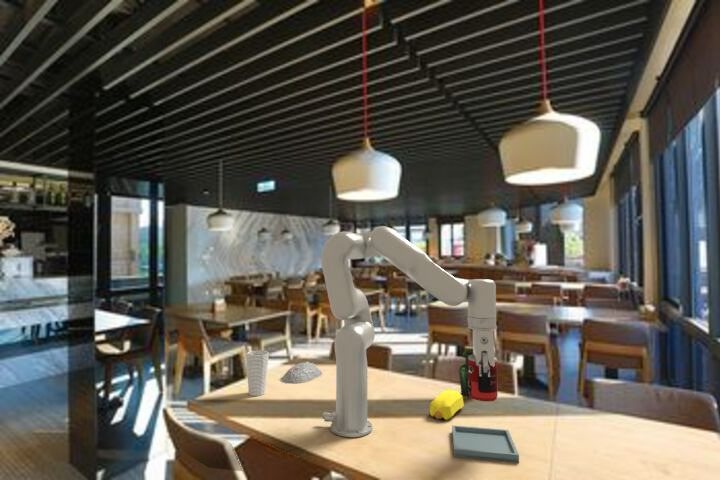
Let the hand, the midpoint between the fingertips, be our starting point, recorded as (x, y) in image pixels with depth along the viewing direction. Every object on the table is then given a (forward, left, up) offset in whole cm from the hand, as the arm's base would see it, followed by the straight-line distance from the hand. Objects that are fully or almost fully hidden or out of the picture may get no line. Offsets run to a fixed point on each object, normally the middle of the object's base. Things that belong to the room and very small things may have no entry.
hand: (482, 386), depth 115 cm
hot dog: (-9, +24, -17) cm, 31 cm away
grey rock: (-71, +56, -17) cm, 92 cm away
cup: (-80, +29, -17) cm, 87 cm away
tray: (0, 0, -16) cm, 16 cm away
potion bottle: (0, +45, -17) cm, 48 cm away
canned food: (0, 0, -3) cm, 3 cm away
